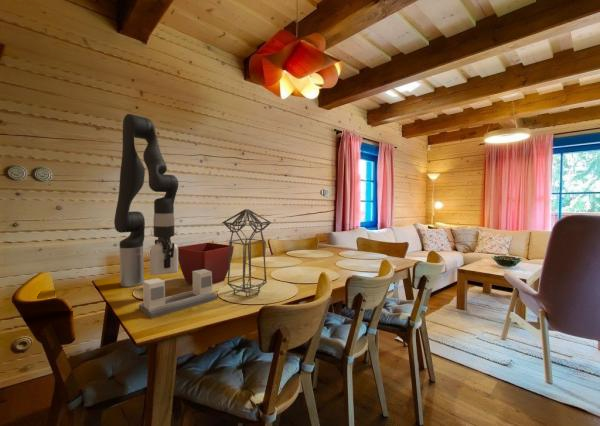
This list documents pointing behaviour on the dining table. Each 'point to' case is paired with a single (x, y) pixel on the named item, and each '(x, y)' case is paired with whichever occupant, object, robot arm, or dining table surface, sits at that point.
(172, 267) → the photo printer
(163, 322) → the dining table surface
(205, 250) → the plant pot
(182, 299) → the rail board
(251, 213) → the geometric lantern
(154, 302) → the mounted modules
